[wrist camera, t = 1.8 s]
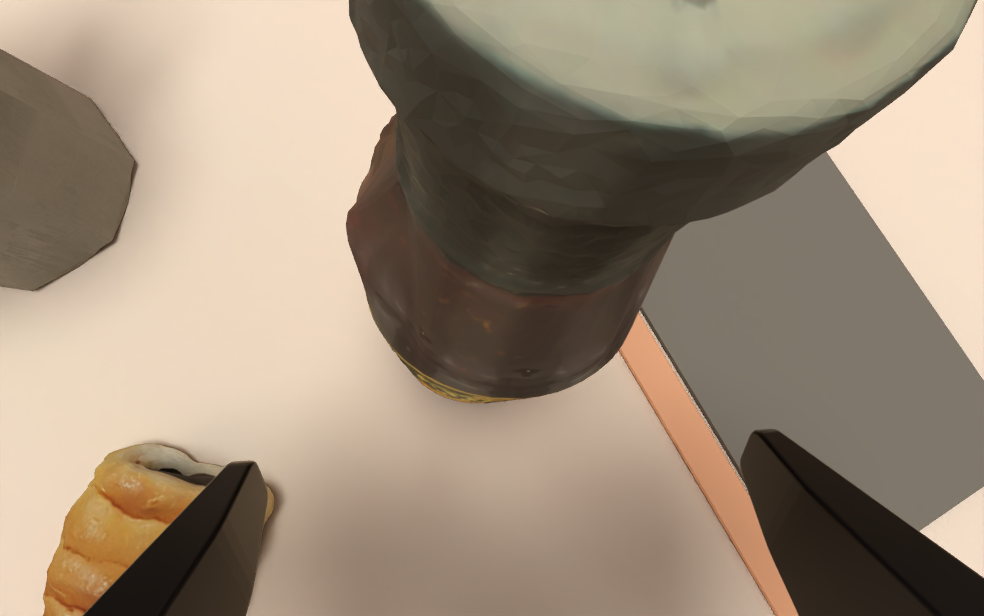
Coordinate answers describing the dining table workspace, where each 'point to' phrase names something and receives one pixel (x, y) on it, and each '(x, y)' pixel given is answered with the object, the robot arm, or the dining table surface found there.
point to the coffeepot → (54, 177)
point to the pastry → (121, 521)
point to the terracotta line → (705, 461)
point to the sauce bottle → (591, 158)
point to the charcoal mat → (822, 344)
